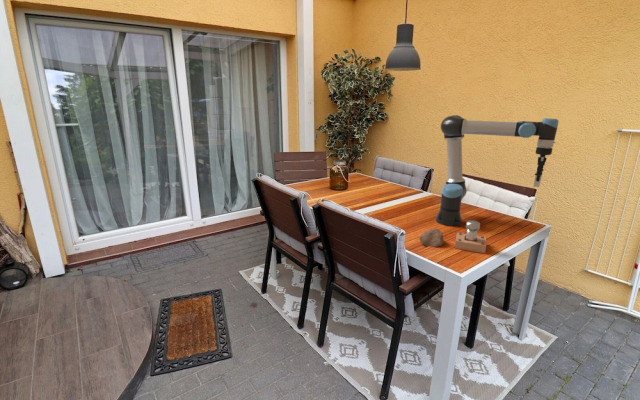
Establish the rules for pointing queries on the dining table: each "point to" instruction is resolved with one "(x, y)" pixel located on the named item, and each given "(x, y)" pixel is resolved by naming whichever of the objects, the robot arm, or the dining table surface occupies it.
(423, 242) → the stone
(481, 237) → the housing
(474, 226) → the grey metal plug
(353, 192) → the dining table surface
